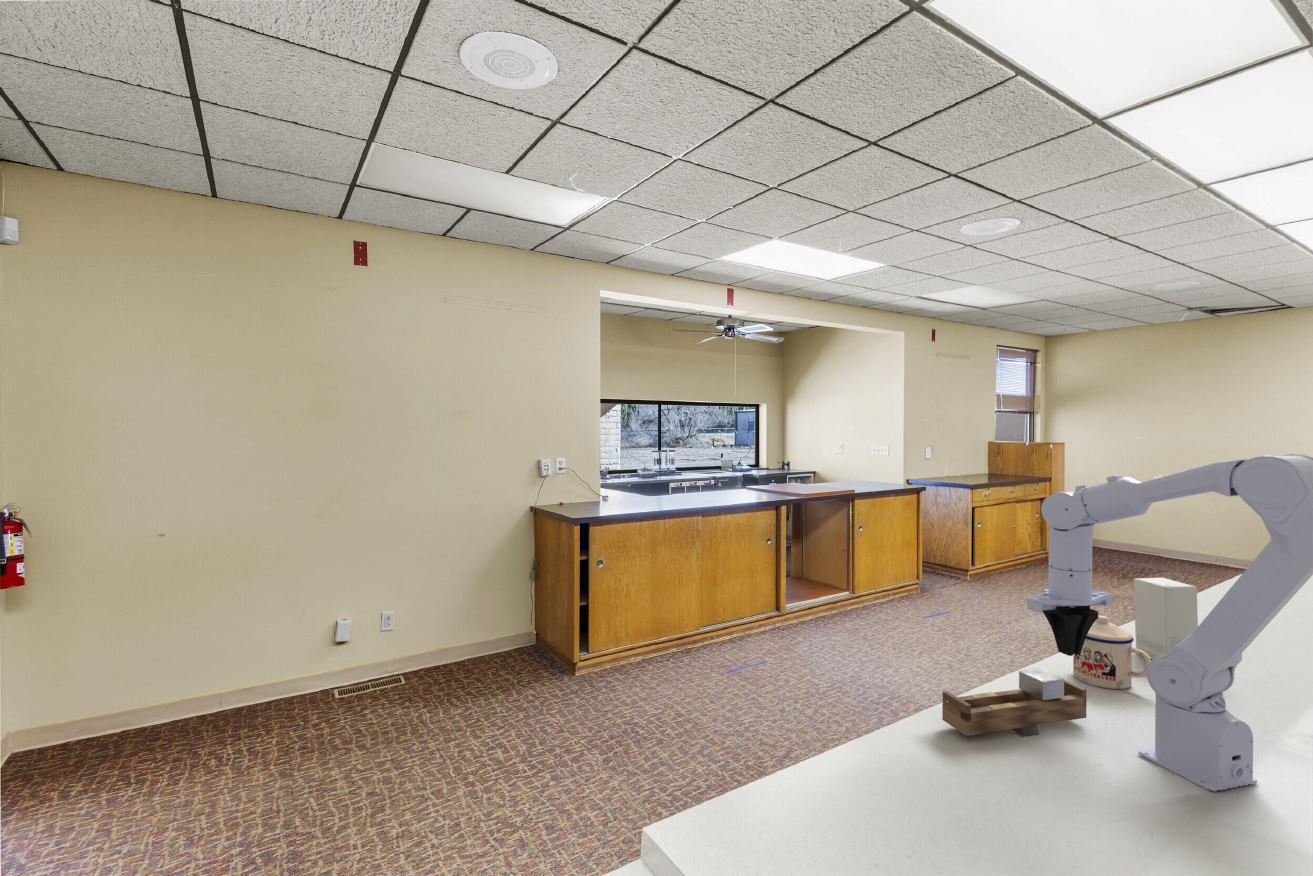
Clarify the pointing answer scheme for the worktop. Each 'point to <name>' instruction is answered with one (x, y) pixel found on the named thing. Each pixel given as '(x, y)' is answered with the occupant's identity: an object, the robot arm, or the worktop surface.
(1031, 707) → the beam
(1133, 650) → the teacup with lid
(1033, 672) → the block
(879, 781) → the worktop surface
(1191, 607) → the skincare box
